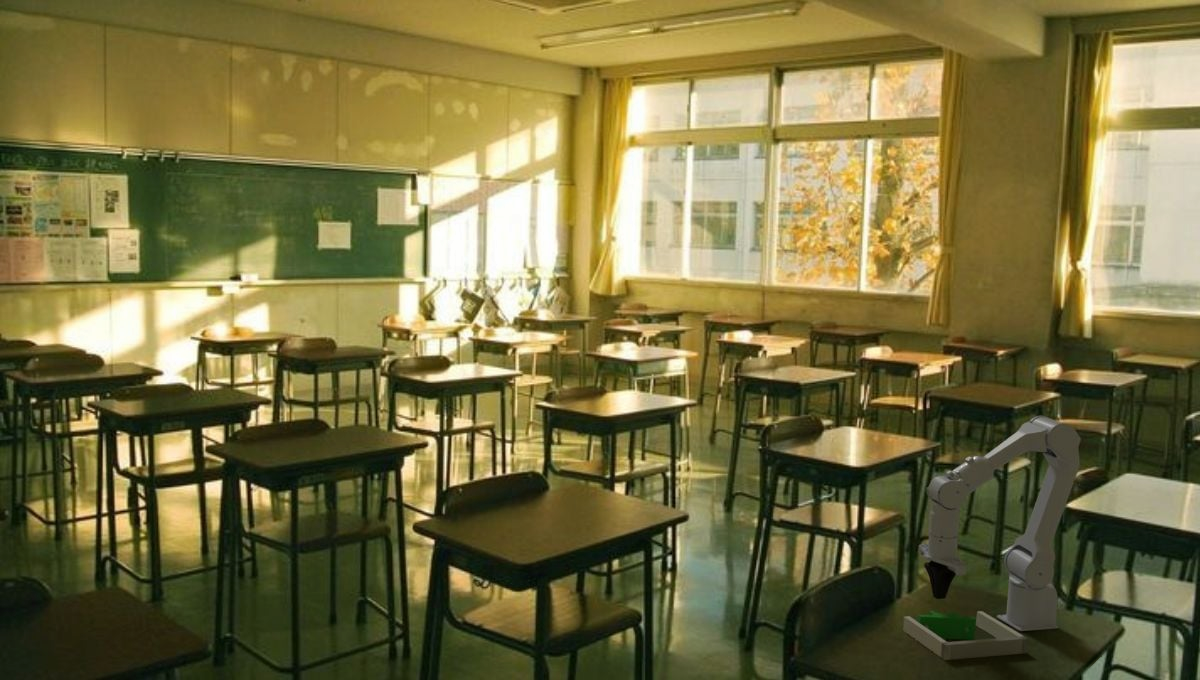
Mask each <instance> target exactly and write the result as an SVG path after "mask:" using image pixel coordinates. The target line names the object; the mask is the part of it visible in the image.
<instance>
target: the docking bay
mask: <svg viewBox="0 0 1200 680" xmlns="http://www.w3.org/2000/svg"><path fill="white" fill-rule="evenodd" d="M975 619H976V624H975V627H977V628H980V629H981V630H982V631H985V632H986V633H988V635H990V636H992V637H994V638H984V639H982V638H981V639H974V640H959V641H958V640H957V641H946V639H945V638H941V637H939V636H938V635H936V634H935V633H933V632H932V631H930V630H929V629H927V627H926V626H923V625H921V624H920V623H918V621H917V620H916V619H914V618H913V617H911V616H909V615H908V616H907V615H906V616H903V625H902V626H903V629H902V630H903V632H904V633H906V634H907V635H908V634H909V636H910V637H911V638H913V639H914V638H915V639H914V640H915V641H917V642H918V641H919V643H920V644H921V645H922V646H924V647H925V648H927V649H928V650H929V651H931V652H932V651H933V652H932V653H934V655H937V656H938V657H940V658H941V659H942V660H944V661H948V660H964V659H973V658H974V659H975V658H985V657H987V658H988V657H996V656H997V657H998V656H1009V655H1010V656H1011V655H1022V654H1027V653H1028V643H1029V639H1028V637H1025V636H1024V635H1023V634H1021V633H1019V632H1018V631H1016V630H1015V629H1014V628H1011V627H1009V626H1008V625H1006V624H1004V623H1002V622H1001V621H999V619H998V620H997V619H996V618H995V617H992V616H991V615H989V614H987V613H986V612H984V611H983V610H982V611H979V610H978V611H976V617H975Z"/></svg>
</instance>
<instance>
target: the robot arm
mask: <svg viewBox="0 0 1200 680" xmlns="http://www.w3.org/2000/svg"><path fill="white" fill-rule="evenodd" d="M1081 442H1082V438H1081V437H1080V435H1079V434H1078V432H1077V431H1076V429H1075V428H1074V426H1072V425H1071V424H1069V423H1065V422H1061V421H1057V420H1055V419H1053V418H1050V417H1048V416H1046V415H1036V416H1033V418H1031V419H1030V421H1027V422H1024V423H1023V424H1021V426H1020V427H1019V429H1018V430H1017V431H1016V432H1015V433H1013V434H1012V435H1010V436H1009V437H1008V438H1007V439H1005V440H1004V441H1003V442H1002V443H1000V444H999V445H998V446H996V447H995V448H993V449H992V450H991V451H989V452H988V453H986V454H985V455H984V456H979V455H973V456H967V457H966V458H965V459H964V461H965V462H963V463H961V464H960V465H958V466H957V467H955V468H954V469H952V470H950V469H949V470H948V471H946V472H945V473H946V474H945V475H938V476H936V477H934V478H933V479H931V481H930V483H928V484H929V485H928V487H926V494H927V496H928V498H929V499H930V512H929V525H928V526H929V529H928V541H927V542H928V544H919V545H918V550H917V552H918V553H917V554H919V555H921V556H923V559H924V560H926V561H928V562H924V565H923V566H924V568H925V570H926V573H927V575H928V578H929V581H930V586H931V591H932V597H933V598H935V599H937V600H941V599H942V600H944V599H946V597H947V594H948V591H949V590H950V586H951V584H952V581H954V578H955V577H956V576H966V575H967V573H968V572H967V571H968V570H967V569H968V565H966V564H965V563H963V561H962V559H960V558H959V557H958V541H959V525H960V524H959V523H960V508H961V507H962V506H963V505H964V504H965V502H966V501H967V497H968V496H969V495H970V494H971V493H973V492H974V491H976V490H977V489H979V488H980V487H981V486H983V485H984V484H985V485H986V483H988V482H989V481H991V480H993V477H994V473H995V470H998V469H999V468H1001V467H1003V466H1004V465H1005V464H1007V463H1009V462H1011V461H1012V460H1014V459H1016V458H1018V457H1020V456H1021V455H1023V454H1025V453H1026V452H1039V453H1042V454H1043V456H1044V458H1045V460H1046V462H1047V463H1048V468H1047V470H1046V473H1045V476H1044V479H1043V481H1042V484H1041V487H1040V490H1039V493H1038V496H1037V499H1036V501H1035V503H1034V507H1033V510H1032V512H1031V515H1030V516H1029V517H1030V518H1029V520H1028V523H1027V526H1026V529H1025V532H1024V534H1022V535H1019V537H1017V538H1016V539H1015V540H1014V542H1013V544H1012V546H1011V548H1009V549H1008V551H1007V552H1006V553H1005V555H1004V561H1003V562H1004V567H1005V568H1006V570H1007V571H1008V577H1009V578H1008V588H1007V589H1008V590H1007V602H1006V613H1005V614H997V615H996V618H997V619H998V620H1000V621H1002V622H1004V623H1005V624H1007V625H1009V626H1011V627H1012V628H1013V629H1014V630H1017V631H1019V632H1026V631H1027V632H1028V631H1042V630H1043V631H1044V630H1054V629H1059V626H1058V625H1057V613H1058V601H1059V600H1058V599H1059V598H1058V597H1059V595H1058V592H1057V590H1056V588H1055V586H1054V585H1053V584H1052V583H1051V581H1052V580H1053V578H1054V574H1055V569H1054V565H1055V564H1054V563H1055V560H1056V554H1055V551H1054V548H1053V547H1052V543H1053V540H1054V538H1055V534H1056V532H1057V530H1058V526H1059V524H1060V522H1061V518H1062V515H1063V513H1064V511H1065V508H1066V504H1067V502H1068V498H1069V496H1070V494H1071V492H1072V491H1071V490H1072V488H1073V485H1074V482H1075V480H1076V477H1077V474H1078V471H1079V469H1080V464H1081V463H1080V452H1079V446H1080V443H1081Z"/></svg>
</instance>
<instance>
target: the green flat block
mask: <svg viewBox="0 0 1200 680" xmlns="http://www.w3.org/2000/svg"><path fill="white" fill-rule="evenodd" d="M917 622H918V623H920V624H921V625H923V626H924V627H926V626H927V627H926V628H927V629H929V630H930V631H932V632H933V633H935V634H936V635H938V636H939V637H941V638H942V639H944V640H946V639H947V640H948V639H949V640H965V641H969V640H975V636H976V617H975V616H960V615H959V614H958V613H957V612H956V611H951V613H949V614H943V613H940V612H939V613H938V612H936V611H934V610H929V614H918V621H917ZM966 628H967V629H966Z"/></svg>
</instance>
